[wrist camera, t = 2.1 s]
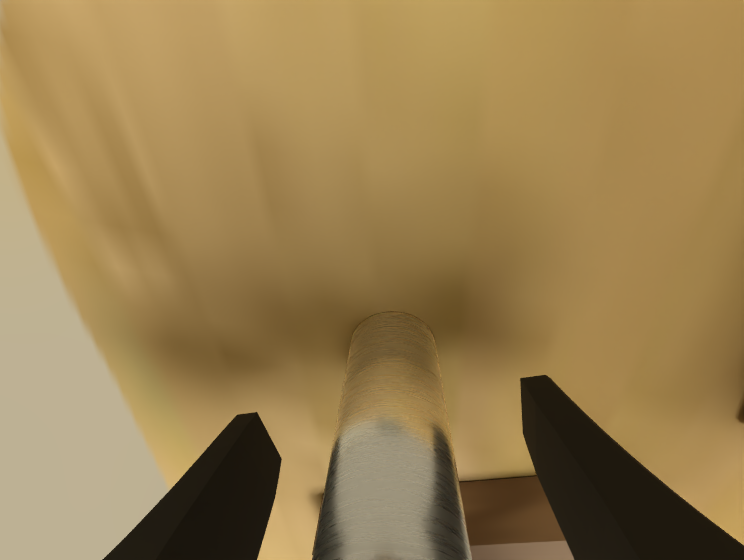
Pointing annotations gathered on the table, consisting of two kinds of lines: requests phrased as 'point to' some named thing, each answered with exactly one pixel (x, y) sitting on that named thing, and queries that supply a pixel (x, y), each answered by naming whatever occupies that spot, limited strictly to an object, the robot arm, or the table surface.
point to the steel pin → (392, 453)
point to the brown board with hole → (510, 521)
